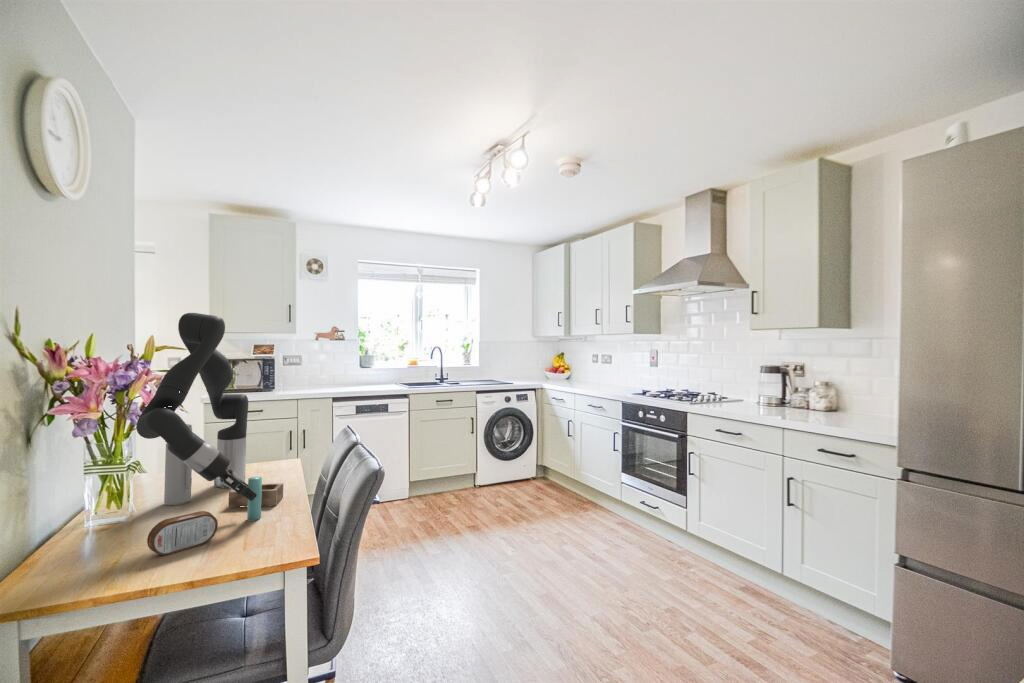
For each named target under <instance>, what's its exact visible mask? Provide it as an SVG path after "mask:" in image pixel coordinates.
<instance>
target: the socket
mask: <svg viewBox="0 0 1024 683" xmlns="http://www.w3.org/2000/svg"><path fill="white" fill-rule="evenodd" d="M237 489H238V488H237ZM238 490H239V489H238ZM282 498H283V499H284V483H283V482H282V483H262V497H261V506H263V507H270V506H269V505H272V506H271V507H276V506H277V505H279V504H280V502H281V501H282V500H283V499H282ZM273 505H274V506H273ZM275 505H276V506H275ZM240 506H248V499H247V498H246V497H245V496H243V495H242V494H238V493H237V492H236V491H235V490H232V489H230V491H229V492H228V507H239V508H241V507H240Z"/></svg>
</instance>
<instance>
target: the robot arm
mask: <svg viewBox="0 0 1024 683" xmlns="http://www.w3.org/2000/svg"><path fill="white" fill-rule="evenodd" d="M177 326H178V328H177V329H178V334H179V336H180V339H181V341H182V343H183V344H184V346H185V348H186V349H187V350H188V352H189V355H188V356H186V357H184V358H183V359H182V360H180V361H178V362H176V364H174V365H172V366H171V367H170V368H169V369H168V371H167V372H166V373H165V374H164V376H163V378H162V380H161V381H160V384H159V385H158V387H157V389H156V391H155V394H154V395H153V397H152V398H151V400H150V401H149V402H148V403H147V405H146V407H145V408H144V409H143V410H142V412H141V413H140V415H139V417H138V419H137V422H136V425H135V426H136V428H135V429H136V431H137V433H138V435H139V436H140V437H142V438H144V439H152V440H153V439H157V438H162V439H163V440H164V442H165V441H166V442H167V443H168V450H169V451H170V452H171V453H172V454H174V455H175V456H176V457H178V458H179V459H181V460H182V461H183V462H184V463H185V464H186V465H187V466H188V467H190V468H191V469H192V470H193V471H194V472H195V473H196V474H198V475H199V476H200V477H202V478H203V479H205V480H206V481H207V482H212V481H213V488H220V487H222V488H221V489H223V488H224V489H225V487H226V488H227V487H229V489H230V490H235V491H236V492H237V493H238V494H242V495H243V496H245V497H246V498H247V499H249V500H250V501H252V500H253V499H254V498H255V497H256V496H257V494H256V493H254V492H253V491H252V490H250V489H249V488H248V483H246V470H247V469H246V467H247V464H246V461H247V460H246V458H247V431H248V430H247V429H248V415H249V414H248V413H249V397H248V396H247V395H246V394H243V393H240V394H239V393H234V394H232V393H230V394H229V393H227V394H226V393H224V392H225V390H226V389H227V388H228V387H229V385H230V384H231V382H232V381H233V378H234V373H233V369H232V367H231V366H232V365H231V362H230V360H229V359H228V358H227V357H226V356H225V355H224V354H223V353H222V352H221V351H219V350H218V349H217V348H218V346H219V345H220V343H221V341H222V340H223V338H224V335H225V331H226V322H225V320H224V318H222V317H220V316H217V315H212V314H205V313H197V312H187V313H184V314H183V315H181V317H180V318H179V320H178V325H177ZM198 374H199V376H200V378H201V381H202V383H203V386H204V387H205V390H206V393H207V395H208V397H209V402H210V405H211V409H212V412H213V415H214V416H215V417H216V419H218V420H235V423H234V424H233V425H230V426H228V427H224V428H221V429H219V430H218V431H217V435H216V436H217V439H216V440H217V443H216V445H217V446H216V447H217V448H216V447H214V446H213V445H212V444H210V443H209V442H206V441H205V440H204V439H203V438H201V437H200V436H199V435H197V434H196V433H195V432H193V430H192V431H191V430H190V429H189V427H188V426H187V425H186V424H187V423H186V422H185V421H184V420H183V418H181V416H180V414H179V415H178V413H177V412H176V410H177V409H178V408H179V407H180V406H181V405H182V404H183V403H184V402H185V400H186V398H187V397H188V394H189V393H190V392H189V391H190V390H191V388H192V386H193V383H194V381H195V379H196V378H197V376H198ZM179 391H180V393H179ZM168 406H172V407H168ZM164 407H166V408H164ZM166 442H165V443H166ZM167 443H166V444H167ZM237 488H238V489H239V490H238V489H237Z"/></svg>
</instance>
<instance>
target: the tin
mask: <svg viewBox="0 0 1024 683" xmlns="http://www.w3.org/2000/svg"><path fill="white" fill-rule="evenodd" d="M218 525H219V524H218V519H217V518H216V516H214V515H213V514H212V513H211V512H209V511H206V510H201V511H196V512H191V513H187V514H183V515H179V516H174V517H169V518H165V519H163V520H160V522H158V523H157V524H155V525H154V526H153V528H151V530H150V531H149V532H148V536H147V539H146V543H147V547H148V548H149V549H150V551H152V552H154V553H155V554H157V555H161V556H167V555H166V554H168V555H171V553H172V554H175V553H174V552H176V553H178V551H179V552H181V551H185V550H189V549H192V548H196V546H197V547H200V546H203V545H205V544H207V543H208V542H209V541H210V540H212V538H213V537H214V536H215V535H216V533H217V531H218Z"/></svg>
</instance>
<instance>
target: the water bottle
mask: <svg viewBox="0 0 1024 683" xmlns="http://www.w3.org/2000/svg"><path fill="white" fill-rule="evenodd" d="M186 425H187V426H188V427H189V429H190V430H191V431H192V432H193V426H192V425H193V424H189V423H188V424H187V423H186ZM164 442H165V456H164V457H165V462H164V463H165V464H164V495H163V496H164V498H163V502H164V504H165V505H166V506H170V505H175V506H181V505H184V503H185V504H187V503H188V502H190V500H191V498H192V483H193V481H192V479H193V478H192V475H193V474H192V469H191V468H190V467H188V466H187V465H186V464H185V463H184V462H183V461H182V460H181V459H179V458H178V457H176V456H175V455H174V454H172V453H171V452H170V451H169V450H168V443H167V442H166V441H165V440H164ZM180 504H181V505H180Z"/></svg>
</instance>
